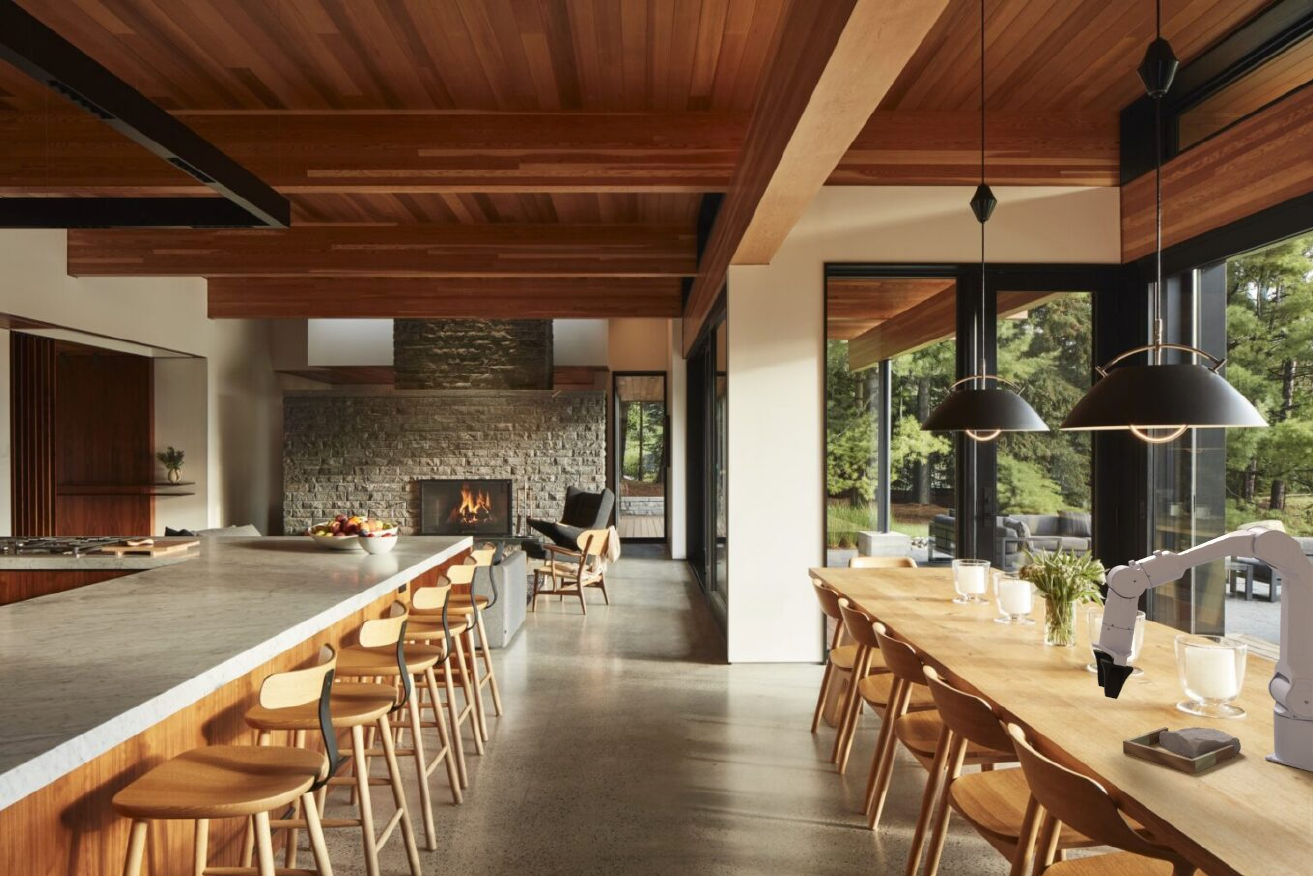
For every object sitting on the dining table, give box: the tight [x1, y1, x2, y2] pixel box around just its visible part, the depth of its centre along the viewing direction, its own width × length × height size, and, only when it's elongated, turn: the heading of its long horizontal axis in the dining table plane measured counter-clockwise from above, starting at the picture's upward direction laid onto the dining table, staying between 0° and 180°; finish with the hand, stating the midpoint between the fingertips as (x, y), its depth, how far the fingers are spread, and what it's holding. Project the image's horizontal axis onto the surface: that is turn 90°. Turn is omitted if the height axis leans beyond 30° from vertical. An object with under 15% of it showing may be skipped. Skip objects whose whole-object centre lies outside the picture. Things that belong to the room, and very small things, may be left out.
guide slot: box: [1122, 726, 1236, 774], centre depth 160 cm, size 13×15×2 cm
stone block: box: [1159, 727, 1242, 759], centre depth 163 cm, size 12×5×10 cm
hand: (1107, 692), depth 166 cm, fingers open, 7 cm apart
